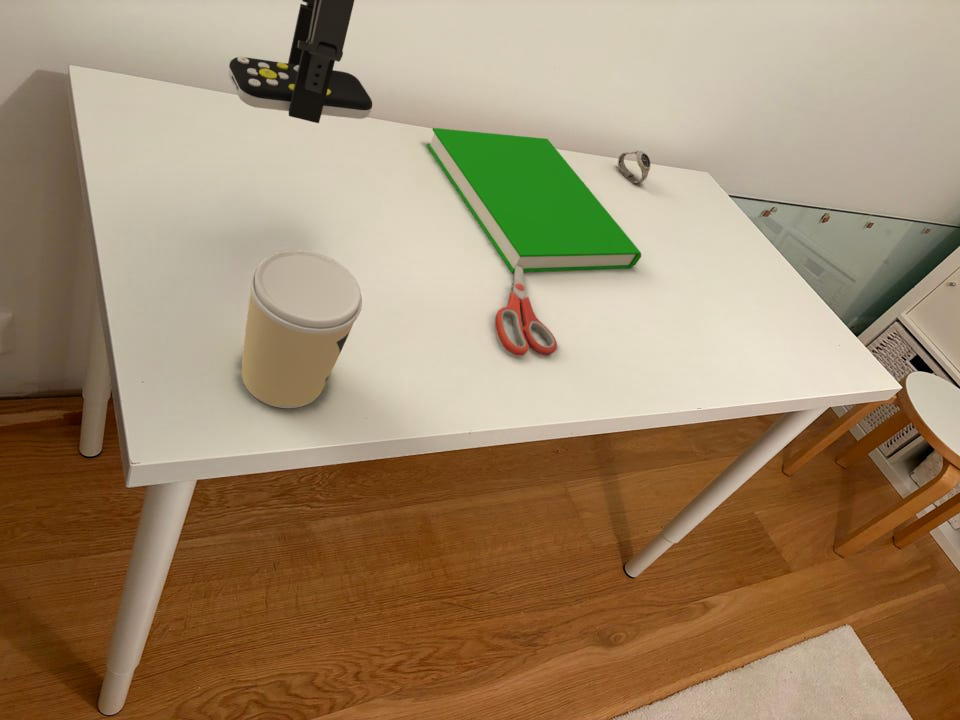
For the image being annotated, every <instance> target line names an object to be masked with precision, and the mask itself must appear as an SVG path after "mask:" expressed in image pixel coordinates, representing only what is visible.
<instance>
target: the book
mask: <svg viewBox="0 0 960 720" xmlns="http://www.w3.org/2000/svg"><path fill="white" fill-rule="evenodd" d="M432 132H433V135H432V138H431V141H430V143H429V142H428V143H426V147H427V148H428V150H429V152H430V153H431V155H433V157H434V159H435V160H436V161H437V163H438V164H439V166H440V168H441V169H442V171H443V172H444V174H445V175H446V177H447V178H448V180H449V181H450V183H451V185H453V187H454V188H455V190H456V192H457V193H458V195H459V196H460V197H461V199H462V200H463V202H464V203H465V205H466V207H467V208H468V209H469V211H470V212H471V214H472V216H473V217H474V219H475V220H476V222H477V223H478V224H479V226H480V227H481V229H482V230H483V232H484V233H485V235H486V236H487V238H488V240H489V241H490V242H491V244H492V245H493V247H494V249H495V250H496V251H497V253H498V254H499V256H500V257H501V260H503V262H504V263H505V264H506V266H507V268H508V269H509V270H510V272H511V273H512V274H514V272H515V265H523V272H524V273H537V272H563V271H565V272H567V271H591V270H593V271H594V270H620V269H631V268H633V267H635V266H636V265H637V263H638V262H639V260H640V259H641V257H642V252H641V251H640V249H639V248H638V247H637V245H636V244H635V243H634V242H633V241H632V240H631V238H630V237H629V236H628V234H626V232H625V231H624V230H623V229H622V227H621V226H620V225H619V224H618V223H617V221H616V220H615V219H614V217H612V215H611V214H610V213H609V212H608V210H607V209H606V208H605V207H604V205H603V204H602V203H601V202H600V201H599V200H598V198H597V196H595V194H593V192H592V191H591V190H590V189H589V187H588V186H587V185H586V183H585V182H584V181H583V180H582V179H581V178H580V176H579V175H578V174H577V173H576V172H575V170H574V169H573V168H572V166H570V164H569V163H568V162H567V160H565V158H564V157H563V156H562V155H561V153H560V152H559V150H557V149H556V147H555V146H554V145H553V144H552V143H551V141H550V140H549V138H543V137H541V138H540V137H532V136H521V135H513V134H512V135H511V134H501V133H491V132H489V133H488V132H480V131H469V130H461V129H460V130H459V129H451V128H450V129H449V128H438V127H432Z"/></svg>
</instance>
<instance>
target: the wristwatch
mask: <svg viewBox="0 0 960 720" xmlns="http://www.w3.org/2000/svg"><path fill="white" fill-rule="evenodd" d="M633 154H635V156H636V163H637V166H638V167H639V169H640V171H641V178H640V179H639V180H638V179H637V178H635V177H634V176H635V175H634V174H633V173H631V172H630V171H629V169H628V168H627V166H626V163H625V157H626V156H627V155H633ZM617 165H618V170H619V171H620V173H621V174H622V176H623V177H625V178H626V179H628V180H629V182H631V183H632V184H641V183H643V182H644V181H646V179H647V178H648V176H649V172H650V170H651V165H652V164H651V159H650V157H649V155H648V154H646V152H644V151H642V150H635V151H624V152H622V153H621V154H620V155H619V156H618V159H617Z"/></svg>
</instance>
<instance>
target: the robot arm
mask: <svg viewBox="0 0 960 720" xmlns="http://www.w3.org/2000/svg"><path fill="white" fill-rule="evenodd" d="M301 2H303V3H300V4H299V10H298V15H297V18H296V24H295V29H294V33H293V38H292V42H291V47H290V52H289V56H288V60H287V61H288V62H287V63H288V64H294V65H299V68H298V72H297V77H296V81H295V85H294V90H293V94H292V99H291V103H290V108H289V111H288V117H290V118H295V119H299V120H303V121H306V122H310V123H315V124H320V120H321V117H322V115H321V113H322V109H323V106H324V102H325V98H326V94H327V90H328V86H329V82H330V78H331V75H332V71H333V70H334V67H335V63H336V62H338V63H339V62H341V60H342V58H343V55H344V46H345V42H346V39H347V33H348V30H349V24H350V21H351V17H352V12H353V8H354V4H355V0H301ZM304 3H305V4H304Z"/></svg>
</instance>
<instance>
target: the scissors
mask: <svg viewBox="0 0 960 720" xmlns="http://www.w3.org/2000/svg"><path fill="white" fill-rule="evenodd" d="M524 277H525V272H523V265H515V272H513V282H512V283H511V285H512V288H511V292H510V293H509V296H508V304H507V306H503V307H501V308H500V309H499V310H498V311H497V312H496V314H495V323H494V325H495V330H496V334H497V336H498V340H499V341H500V343H501V345H502V347H503V349H505V350H506V351H507V352H508V353H509V354H512V355H514V356H519V357H521V356H525V355H526V354H527V353H528V352H529V349H531V350H532V351H533V352H535V353H536V354H539V355H542V356H549V355H553V354H554V353H555V352H556V350H557V347H558V344H557V343H558V342H557V340H556V338H555V336H554V334H553V333H552V332H551V330H549V328H548V327H547V326H546V325H545V324H544V323H543V322H542V321H540V320H539V319H538V317H537V316H536V314H535V312H534V310H533V307H532V303H531V300H530V297H529V296H526V285H525V278H524ZM505 317H506V318H508V319H509V320H511V321H512V322H513V323H512V326H513V331H514V336H515V339H516V342H517V343H518V345H517V344H515V343H514V342H513V341H512V340H511V339H510V337H509V336H508V334H507V331H506V329H505V324H504V318H505ZM532 330H535V331H536V332H537V333H539V335H541V336H542V337H543V338H544V340H545V341H546V343H547V344H548V345H543V344H541V343H540V342H538V341H537V339H536V338H535V336H534V335H533V333H532Z"/></svg>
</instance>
